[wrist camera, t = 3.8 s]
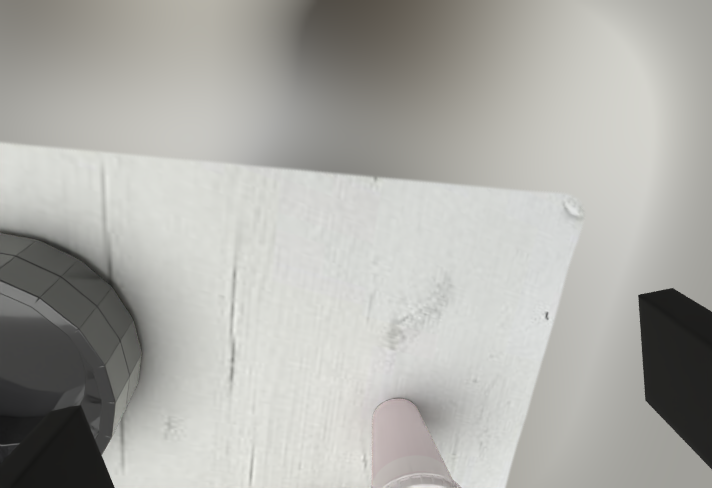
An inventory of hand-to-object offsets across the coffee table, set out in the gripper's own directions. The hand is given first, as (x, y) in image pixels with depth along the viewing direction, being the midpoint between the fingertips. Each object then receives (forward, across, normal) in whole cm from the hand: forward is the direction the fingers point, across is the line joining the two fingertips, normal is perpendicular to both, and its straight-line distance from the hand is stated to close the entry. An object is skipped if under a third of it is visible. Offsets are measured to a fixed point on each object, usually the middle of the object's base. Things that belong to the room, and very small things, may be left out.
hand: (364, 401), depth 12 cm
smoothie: (+25, 0, -18) cm, 31 cm away
